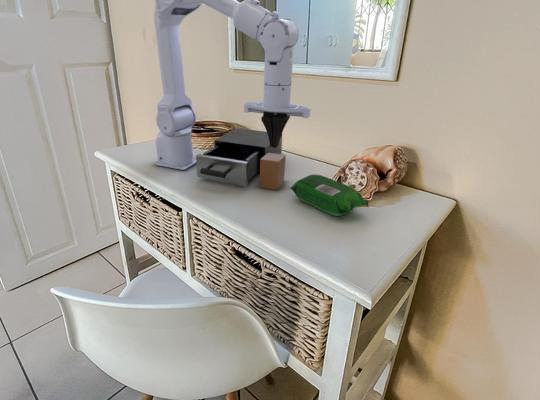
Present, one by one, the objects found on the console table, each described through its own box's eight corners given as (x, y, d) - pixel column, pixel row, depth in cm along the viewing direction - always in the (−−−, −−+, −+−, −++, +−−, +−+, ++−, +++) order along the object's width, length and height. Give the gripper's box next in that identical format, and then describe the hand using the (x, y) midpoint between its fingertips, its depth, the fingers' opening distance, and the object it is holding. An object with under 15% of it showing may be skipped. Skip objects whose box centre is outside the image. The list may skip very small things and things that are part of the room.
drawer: (238, 193, 74) (238, 169, 71) (188, 183, 79) (186, 160, 76) (265, 168, 87) (266, 147, 84) (220, 161, 92) (220, 141, 89)
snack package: (345, 227, 62) (349, 202, 60) (287, 196, 74) (288, 175, 71) (368, 216, 66) (373, 192, 64) (309, 189, 77) (311, 168, 75)
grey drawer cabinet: (264, 174, 85) (265, 147, 82) (215, 166, 91) (214, 140, 87) (281, 158, 96) (282, 133, 92) (236, 151, 102) (235, 128, 98)
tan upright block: (259, 187, 79) (260, 159, 75) (266, 179, 83) (267, 152, 79) (277, 190, 77) (278, 162, 74) (283, 182, 81) (285, 155, 78)
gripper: (316, 83, 70) (310, 145, 76) (253, 79, 76) (252, 137, 82) (307, 88, 64) (301, 154, 71) (240, 84, 70) (240, 146, 76)
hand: (274, 146), depth 76 cm, fingers closed
